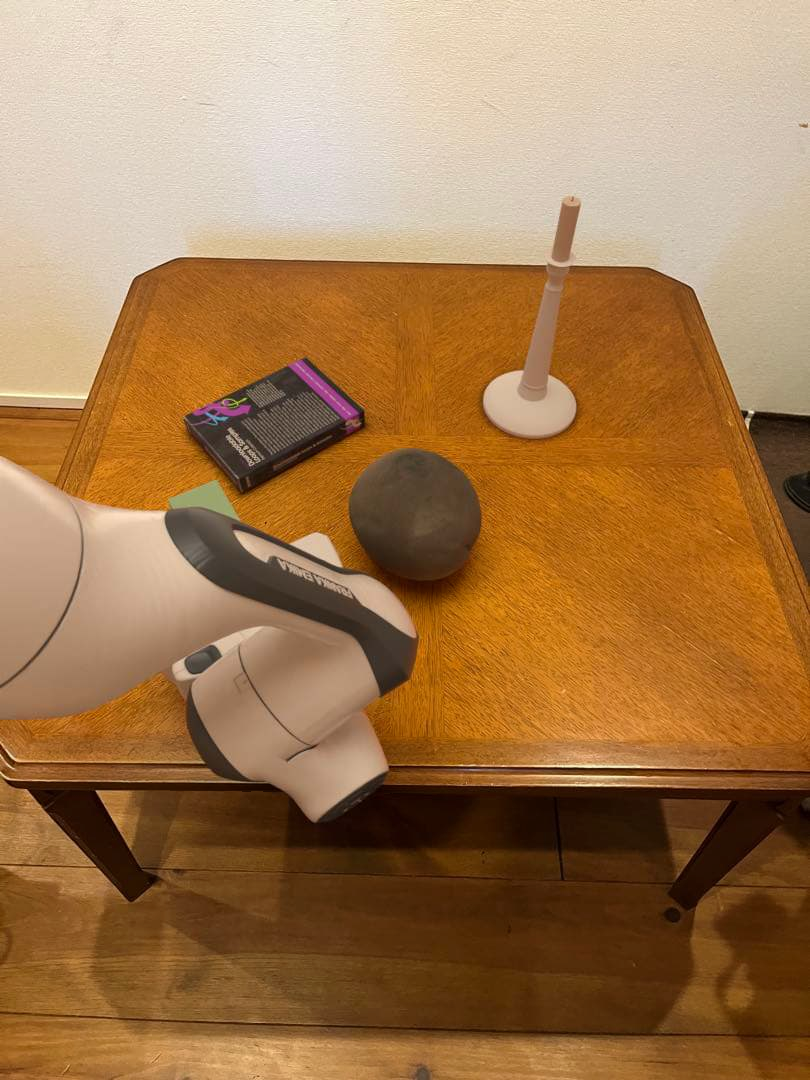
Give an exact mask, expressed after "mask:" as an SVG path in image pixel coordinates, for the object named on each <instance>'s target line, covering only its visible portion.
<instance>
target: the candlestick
mask: <svg viewBox="0 0 810 1080" xmlns="http://www.w3.org/2000/svg"><path fill="white" fill-rule="evenodd" d="M581 206H582V200H581V199H580V198H578V197H576V196H573V195H568V196H565V197H563V199H562V201H561V205H560V211H559V216H558V220H557V227H556V230H555V236H554V241H553V247H552V248H551V249H548V250H547V251H545V253H544V256H543V258H544V260H545V262H546V263H547V264H546V266H545V270H546V273H547V276H548V280H547V281H545V284H544V289H543V294H542V297H541V302H540V305H539V310H538V313H537V316H536V321H535V325H534V329H533V333H532V336H531V341H530V345H529V348H528V352H527V356H526V360H525V364H524V367H523V369H522V370H521V369H520V370H513V371H509V372H506V373H503V374H501V375H499V376H497V377H495V378H494V379H493V380H492V381H491V382H490V383H489V384H488V385H487V387H486V388H485V391H484V393H483V398H482V407H483V411H484V413H485V416H486V418H487V419H488V420H489V421H490V422H491V423H492V424H493V425H494V426H495V427H496V428H498V429H499V430H500V431H503V432H504V433H506V434H509V435H511V436H514V437H518V438H522V439H530V440H541V439H546V438H551V437H554V436H556V435H559V434H561V433H563V432H564V431H566V429H568V428H569V427H570V426H571V425H572V423H573V421H574V419H575V417H576V413H577V402H576V398H575V395H574V394H573V392H572V391H571V389H570V388H569V387H568V386H567V385H566V384H565V383H564V382H562V381H561V380H560V379H558V378H556V377H554V376H553V375H550V367H551V360H552V354H553V348H554V343H555V342H554V341H555V335H556V331H557V324H558V317H559V310H560V305H561V300H562V299H561V298H562V291H563V289H564V284H563V280H564V278H565V276H567V275H568V274H569V272H570V266H573V265H574V264H575V263H576V261H577V257H576V255H575V254H574V253H573V252H572V251H571V250H572V245H573V241H574V236H575V232H576V229H577V225H578V224H577V223H578V219H579V214H580V210H581Z"/></svg>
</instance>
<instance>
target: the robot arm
mask: <svg viewBox="0 0 810 1080" xmlns="http://www.w3.org/2000/svg"><path fill="white" fill-rule="evenodd" d="M419 639H420V637H419V633H418V630H417V629H416V627H415V624H414V621H413V619H412V617H411V615H410V613H409V612H408V610H407V609H406V607H405V606H404V604H403V603H402V602H401V600H400V598H398V597H397V596H396V594H394V592H393V591H391V589H390V588H389V587H387V586H386V585H384V583H382V582H381V581H379V580H377V579H375V577H373V576H371V575H370V574H368V573H367V572H365V571H362V570H357V569H353V568H347V567H344V566H343V563H342V560H341V558H340V556H339V554H338V551H337V549H336V548H335V546H334V544H333V542H332V540H331V539H330V538H329V536H328V535H326V534H324V533H321V532H317V531H316V532H311V533H310V534H308V535H305V536H303V537H301V538H298V539H297V540H295V541H292V542H290V543H288V542H286V541H285V540H282V539H280V538H278V537H276V536H274V535H271V534H269V533H267V532H265V531H263V530H261V529H258V528H256V527H254V526H252V525H250V524H247V523H245V522H243V521H242V520H241V521H238V520H236V519H234V518H231V517H229V516H226V515H224V514H221V513H218V512H215V511H213V510H210V509H206V508H203V507H186V508H177V509H171V508H170V509H168V510H148V509H147V510H145V509H132V508H123V507H116V506H109V505H104V504H101V503H96V502H91V501H88V500H85V499H83V498H79V497H76V496H73V495H71V494H69V493H67V492H65V491H64V490H61V489H59V488H58V487H57V486H55V485H53V484H52V483H50V482H49V481H47V480H46V479H44V478H42V477H40V476H38V475H36V474H35V473H34V472H32V471H30V470H28V469H26V468H25V467H22V466H21V465H19V464H17V463H15V462H13V461H11V460H10V459H8V458H5V457H3V456H2V455H0V720H8V721H9V720H10V721H11V720H14V721H27V720H28V721H29V720H30V721H31V720H46V719H47V720H48V719H49V720H50V719H59V718H67V717H71V716H72V717H73V716H76V715H81V714H83V713H86V712H89V711H93V710H94V709H97V708H100V707H101V706H104V705H106V704H108V703H111V702H112V701H114V700H115V699H117V698H119V697H121V696H123V695H125V694H126V693H127V692H129V691H132V690H133V689H135V688H137V687H138V686H140V685H141V684H143V683H145V682H146V681H148V680H149V679H151V678H153V677H155V676H157V675H158V674H160V673H161V675H162V676H163V677H164V678H165V679H166V680H167V681H168V682H169V683H171V684H172V685H173V686H174V685H175V686H176V688H177V690H178V692H179V694H180V695H181V697H182V698H183V700H184V702H185V723H186V728H187V732H188V734H189V737H190V740H191V742H192V743H193V745H194V748H195V749H196V751H197V754H198V755H199V757H200V758H201V760H202V761H203V763H204V764H205V766H206V767H207V768H208V769H209V770H210V772H211V773H212V774H214V775H215V776H217V777H219V778H222V779H226V780H230V781H235V782H241V783H242V782H244V783H267V784H270V785H272V786H274V787H276V788H278V790H281V791H282V792H284V793H286V794H287V795H288V796H289V797H290V798H292V800H293V801H294V802H295V803H296V805H297V806H298V807H299V808H300V810H301V811H302V813H303V814H304V815H305V816H306V818H307V819H309V821H311V822H312V823H315V824H320V823H321V824H322V823H329V822H332V821H333V820H335V819H337V818H339V817H341V816H343V815H344V814H345V813H347V812H348V811H350V810H353V808H355V807H356V806H357V805H358V804H360V803H361V802H363V801H365V799H367V798H368V797H369V796H371V795H372V794H373V793H374V792H375V791H376V790H377V789H379V788H380V787H381V786H382V785H383V783H384V782H385V781H386V778H387V776H388V774H389V771H390V768H389V763H388V761H387V760H388V759H387V757H386V755H385V754H386V753H385V752H384V750H383V747H382V745H381V743H380V740H379V738H378V735H377V733H376V731H375V729H374V727H373V724H372V723H371V721H370V718H369V717H368V714H367V713H366V710H365V709H367V707H369V706H370V705H371V704H373V702H375V701H376V700H378V699H382V698H383V697H385V696H387V695H388V694H390V693H391V692H393V691H394V690H396V689H397V688H398V687H400V686H402V685H404V684H405V683H407V682H409V681H410V680H411V678H412V674H413V671H414V667H415V663H416V660H417V656H418V649H419Z"/></svg>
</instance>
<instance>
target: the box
mask: <svg viewBox="0 0 810 1080" xmlns="http://www.w3.org/2000/svg"><path fill="white" fill-rule="evenodd" d="M365 411H366V410H365V408H363V406H362V405H359V403H357V402H356V401H355V400H354V399H353V398H351V396H350V395H348V394H347V393H346V392H345V391H344V390H343V389H342V388H341V387H340V386H338V385H337V384H336V383H335V382H334V381H333V380H332V379H331V378H330V377H328V375H326V374H325V373H324V372H323V371H322V370H321V369H320V368H319V367H317V366H316V365H315V363H313V362H312V361H311V360H310V359H309V358H308V357H307V356H305V357H302V358H300V359H299V360H297V361H296V360H295V361H294V362H292V363H290V364H288V365H286V366H284V367H282V368H280V369H278V370H276V371H274V372H272V373H270V374H267V375H265V376H264V377H261V378H259V379H258V380H256V381H254V382H251V383H249V384H246V385H245V386H243V387H241V388H239V389H237V390H235V391H232V392H231V393H229V394H226V395H224V396H222V397H220V398H218V399H217V400H214V401H212V402H211V403H208V404H206V405H204V406H202V407H200V408H198V409H196V410H194V411H192V412H190V413H188V414H186V415H184V416H183V417H182V420H183V422H184V425H185V427H186V430H187V432H188V434H189V435H190V436H191V437H192V438H193V439H194V440H195V441H196V442H197V443H198V445H199V446H200V447H201V448H202V449H203V450H204V451H205V453H206V454H207V455H208V456H209V458H211V460H212V461H213V462H214V463H215V465H217V466H218V468H220V470H221V471H222V472H223V474H225V475H226V477H227V478H228V479H229V480H230V482H231V483H232V484H233V485H234V486H235V487H236V488H237V489H238V491H239V492H240V493H241V494H243V493H245V492H247V491H249V490H251V489H253V488H255V487H256V486H259V485H260V484H262V483H263V482H265V481H267V480H269V479H271V478H272V477H274V476H276V475H278V474H279V473H282V472H283V471H285V470H287V469H289V468H291V467H292V466H294V465H296V464H298V463H300V462H302V461H303V460H305V459H307V458H308V457H310V456H312V455H314V454H315V453H318V452H319V451H321V450H323V449H325V448H326V447H328V446H330V445H332V444H334V443H335V442H338V441H340V440H341V439H343V438H344V437H346V436H348V435H350V434H352V433H353V432H355V431H358V430H359V429H361V428H362V427H365V426H366V415H365Z"/></svg>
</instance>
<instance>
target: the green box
mask: <svg viewBox="0 0 810 1080" xmlns="http://www.w3.org/2000/svg"><path fill="white" fill-rule="evenodd" d="M167 502H168V505H169V507H170V509H177V508H186V507H203V508H206V509H210V510H213V511H215V512H218V513H221V514H224V515H226V516H229V517H231V518H234V519H236V520H238V521H241V522H242V520H241V519H240V517H239V515H238V514H237V512H236V510H235V508H234V506H233V504H232V503H231V502H230V500H229V498H228V496H227V495H226V493H225V492H224V490H223V488H222V486H221V485H220V483H219V481H218V480H217V479H214V480H212V481H211V480H210V481H209V482H207V483H204V484H202V485H199V486H197V487H194V488H192V489H191V488H190V489H189V490H187V491H184V492H182V493H180V494H177V495H175V496H171V497H170V498H168V499H167Z"/></svg>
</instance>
